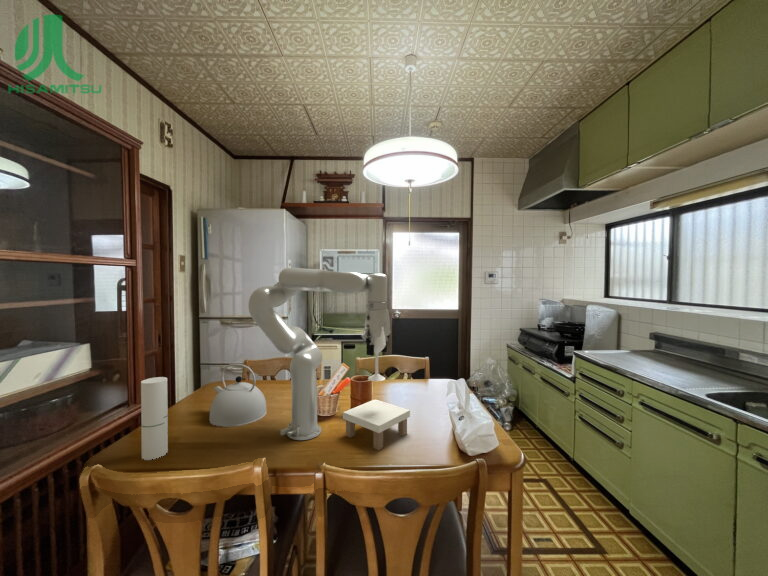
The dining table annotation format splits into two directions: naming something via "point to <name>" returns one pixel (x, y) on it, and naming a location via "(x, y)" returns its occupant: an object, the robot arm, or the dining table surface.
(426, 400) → the dining table surface
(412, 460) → the dining table surface
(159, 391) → the cylindrical container
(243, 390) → the kettle
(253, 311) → the robot arm
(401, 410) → the footstool
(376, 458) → the dining table surface
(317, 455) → the dining table surface
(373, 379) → the champagne flute
